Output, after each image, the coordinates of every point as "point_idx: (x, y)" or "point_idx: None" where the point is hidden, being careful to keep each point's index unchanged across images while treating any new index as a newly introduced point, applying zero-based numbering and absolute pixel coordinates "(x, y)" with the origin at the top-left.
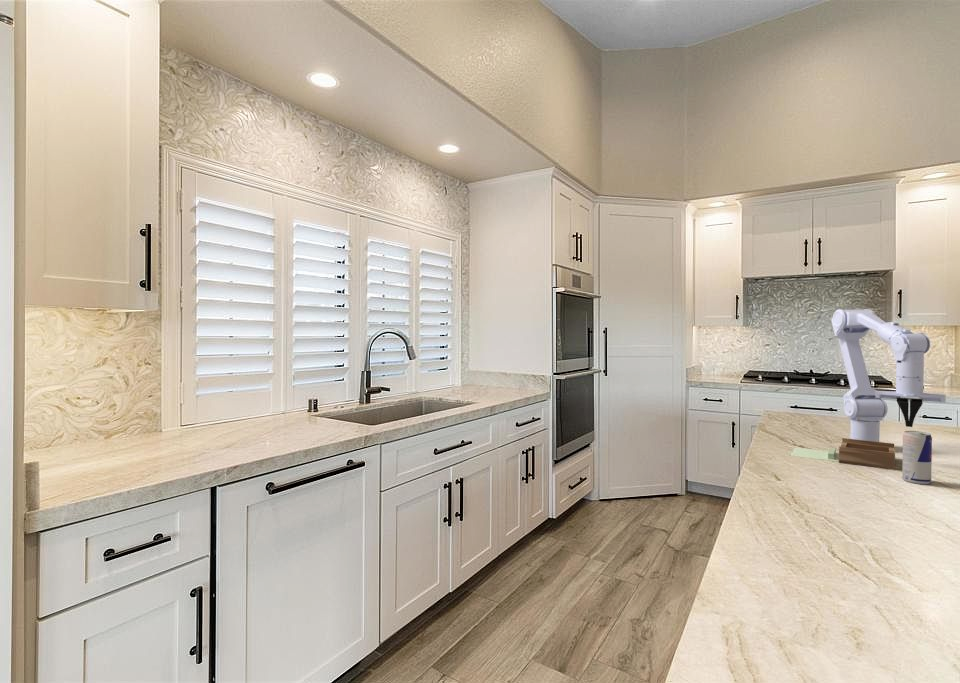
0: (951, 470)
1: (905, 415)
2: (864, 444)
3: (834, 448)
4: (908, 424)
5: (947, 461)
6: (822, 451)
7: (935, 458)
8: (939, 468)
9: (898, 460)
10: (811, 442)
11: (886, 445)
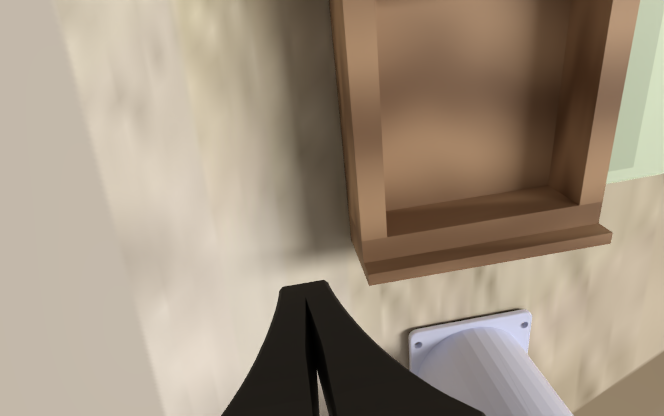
0: (101, 177)
1: (349, 335)
2: (498, 230)
3: (617, 148)
4: (309, 290)
5: (163, 351)
6: (642, 154)
7: (212, 371)
8: (154, 181)
9: (332, 221)
10: (656, 314)
11: (401, 261)
